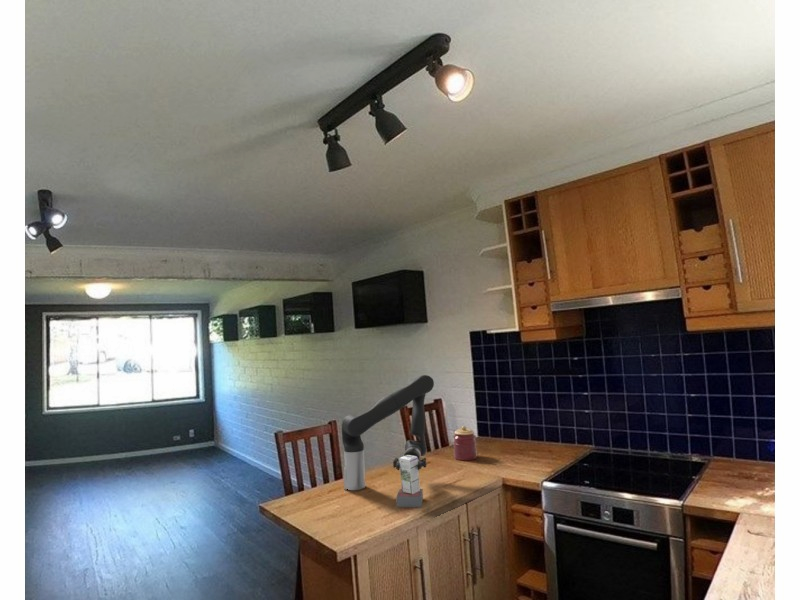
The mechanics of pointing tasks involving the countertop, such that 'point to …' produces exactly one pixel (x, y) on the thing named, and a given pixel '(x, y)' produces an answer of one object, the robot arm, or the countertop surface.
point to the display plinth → (409, 499)
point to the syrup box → (409, 474)
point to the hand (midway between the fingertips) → (408, 467)
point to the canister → (464, 444)
